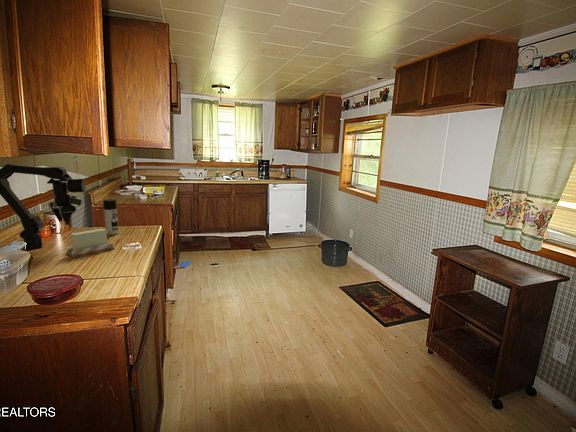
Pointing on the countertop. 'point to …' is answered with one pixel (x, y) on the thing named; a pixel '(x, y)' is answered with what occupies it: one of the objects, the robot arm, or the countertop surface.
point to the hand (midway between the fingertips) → (64, 223)
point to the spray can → (111, 216)
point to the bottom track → (89, 250)
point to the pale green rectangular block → (89, 239)
